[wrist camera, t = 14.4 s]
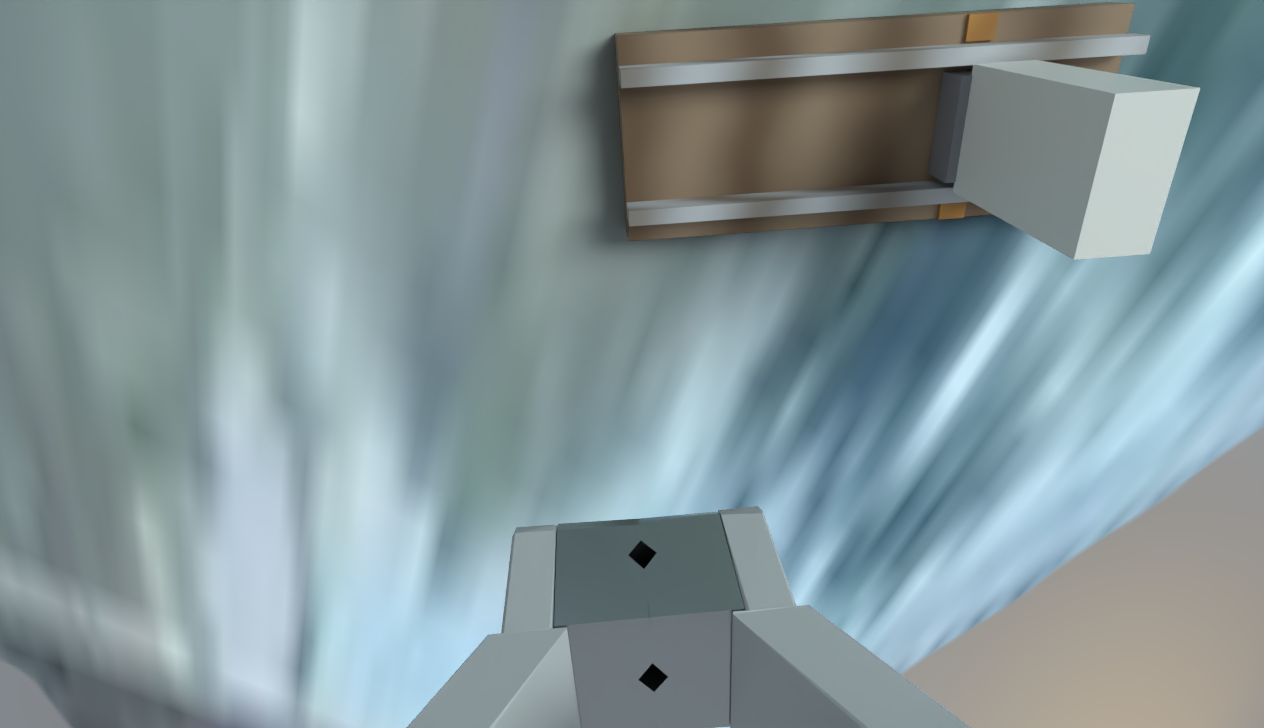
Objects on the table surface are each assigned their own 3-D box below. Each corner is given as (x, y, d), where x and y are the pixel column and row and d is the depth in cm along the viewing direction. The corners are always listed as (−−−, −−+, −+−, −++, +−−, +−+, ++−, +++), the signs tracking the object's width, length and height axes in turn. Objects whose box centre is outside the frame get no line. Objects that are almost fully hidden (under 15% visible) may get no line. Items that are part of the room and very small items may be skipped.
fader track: (626, 229, 40) (630, 250, 37) (614, 33, 35) (618, 38, 32) (1062, 197, 41) (1102, 216, 38) (1107, 2, 36) (1158, 4, 33)
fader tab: (927, 183, 38) (1060, 260, 27) (944, 60, 35) (1101, 94, 25) (1000, 177, 38) (1162, 253, 28) (1024, 55, 35) (1214, 87, 25)
